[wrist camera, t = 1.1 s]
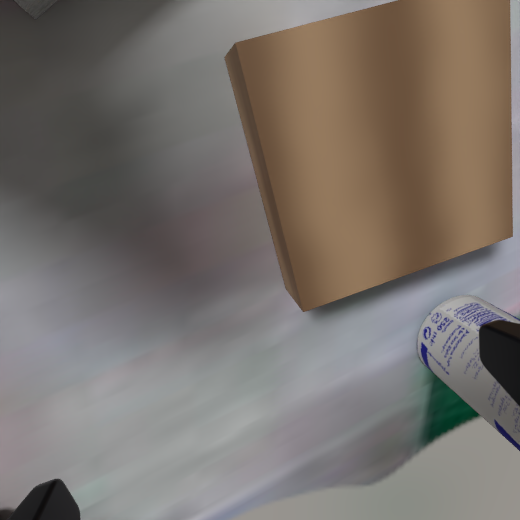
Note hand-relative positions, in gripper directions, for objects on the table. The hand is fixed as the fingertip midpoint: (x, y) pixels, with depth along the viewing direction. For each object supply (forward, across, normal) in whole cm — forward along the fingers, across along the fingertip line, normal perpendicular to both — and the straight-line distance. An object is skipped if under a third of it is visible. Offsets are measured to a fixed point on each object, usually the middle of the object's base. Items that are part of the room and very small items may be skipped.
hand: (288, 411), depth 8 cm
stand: (+13, -9, -2) cm, 16 cm away
